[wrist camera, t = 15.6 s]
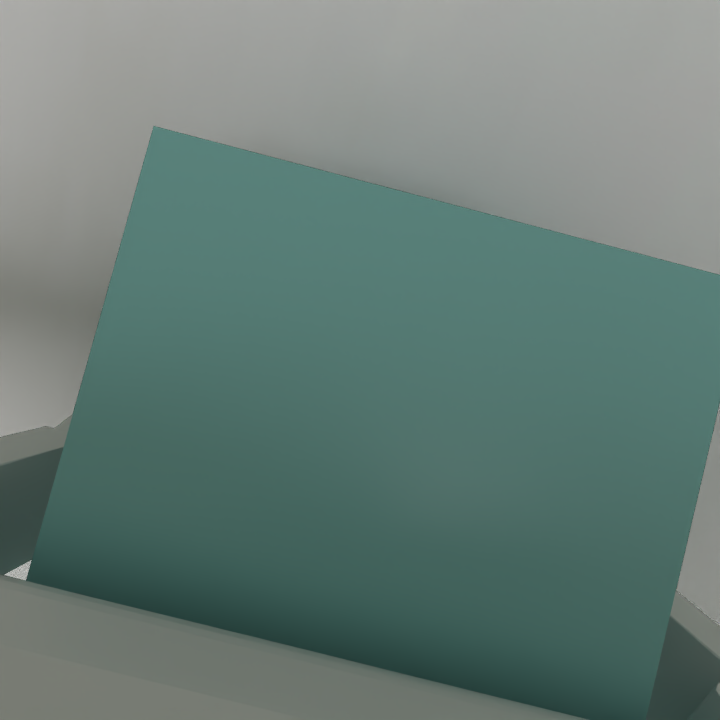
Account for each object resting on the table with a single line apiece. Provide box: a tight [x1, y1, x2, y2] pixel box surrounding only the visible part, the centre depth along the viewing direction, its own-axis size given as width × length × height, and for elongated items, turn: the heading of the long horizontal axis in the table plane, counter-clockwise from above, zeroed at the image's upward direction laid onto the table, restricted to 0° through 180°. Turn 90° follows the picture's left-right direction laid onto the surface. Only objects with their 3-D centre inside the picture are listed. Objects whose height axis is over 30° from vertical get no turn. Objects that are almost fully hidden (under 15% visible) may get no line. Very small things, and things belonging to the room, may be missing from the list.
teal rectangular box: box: [26, 126, 720, 720], centre depth 8 cm, size 10×7×6 cm, turn 167°
